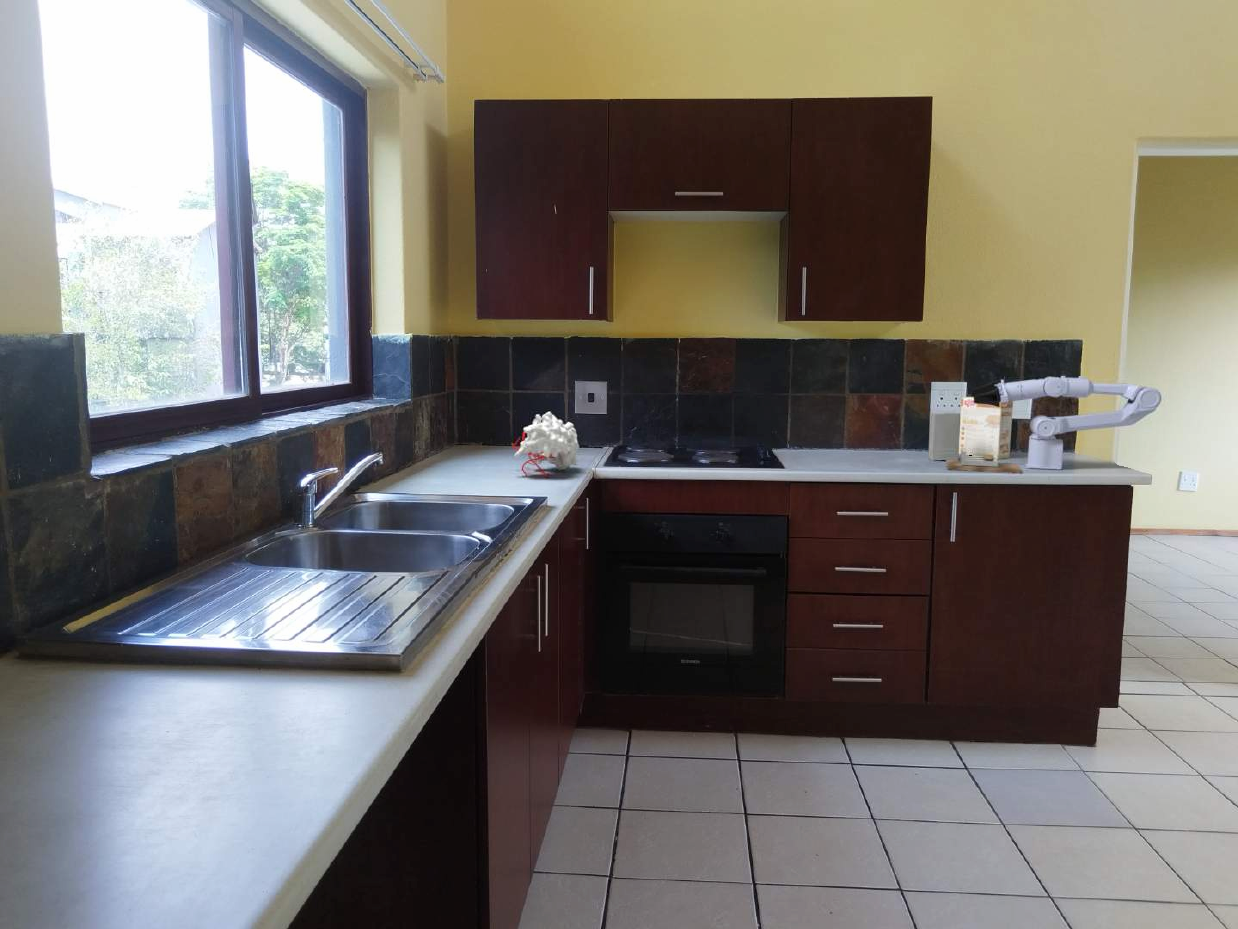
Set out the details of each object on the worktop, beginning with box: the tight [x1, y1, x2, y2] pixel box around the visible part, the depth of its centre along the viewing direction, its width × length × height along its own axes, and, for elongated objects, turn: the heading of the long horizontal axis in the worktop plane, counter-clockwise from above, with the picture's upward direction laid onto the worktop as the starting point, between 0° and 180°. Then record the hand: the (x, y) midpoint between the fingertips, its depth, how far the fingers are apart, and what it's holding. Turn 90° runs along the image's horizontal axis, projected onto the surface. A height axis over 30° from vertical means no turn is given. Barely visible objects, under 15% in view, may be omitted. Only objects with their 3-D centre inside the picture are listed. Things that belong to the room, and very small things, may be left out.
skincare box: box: [928, 410, 961, 461], centre depth 291 cm, size 8×7×16 cm
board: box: [945, 455, 1021, 474], centre depth 273 cm, size 20×14×4 cm
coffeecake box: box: [959, 396, 1014, 460], centre depth 302 cm, size 15×7×20 cm, turn 34°
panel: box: [959, 447, 999, 467], centre depth 273 cm, size 10×11×4 cm
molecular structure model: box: [511, 411, 580, 478], centre depth 255 cm, size 20×18×25 cm
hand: (972, 396), depth 279 cm, fingers open, 7 cm apart
